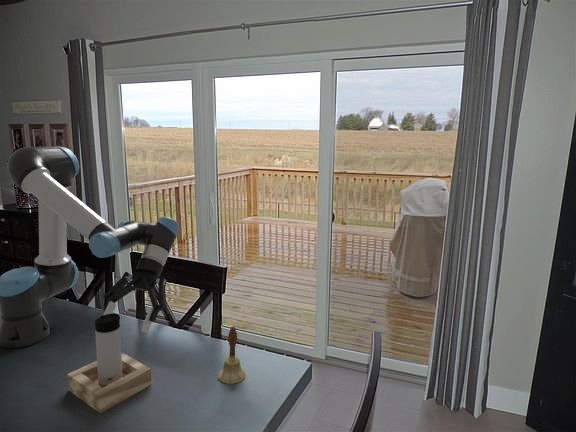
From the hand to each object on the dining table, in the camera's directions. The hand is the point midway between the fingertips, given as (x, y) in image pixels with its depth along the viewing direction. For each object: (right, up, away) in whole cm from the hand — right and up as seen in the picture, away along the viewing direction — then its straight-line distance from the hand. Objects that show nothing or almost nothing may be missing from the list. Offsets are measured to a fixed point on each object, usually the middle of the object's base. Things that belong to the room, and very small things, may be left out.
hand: (123, 328), depth 116 cm
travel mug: (-2, -15, -2) cm, 15 cm away
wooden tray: (-3, -16, -2) cm, 17 cm away
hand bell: (+30, -16, +6) cm, 35 cm away
